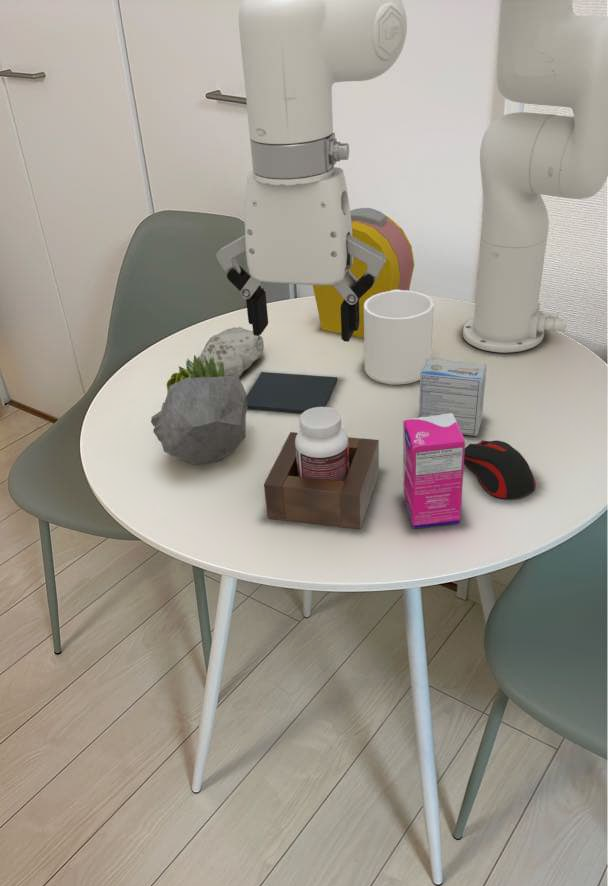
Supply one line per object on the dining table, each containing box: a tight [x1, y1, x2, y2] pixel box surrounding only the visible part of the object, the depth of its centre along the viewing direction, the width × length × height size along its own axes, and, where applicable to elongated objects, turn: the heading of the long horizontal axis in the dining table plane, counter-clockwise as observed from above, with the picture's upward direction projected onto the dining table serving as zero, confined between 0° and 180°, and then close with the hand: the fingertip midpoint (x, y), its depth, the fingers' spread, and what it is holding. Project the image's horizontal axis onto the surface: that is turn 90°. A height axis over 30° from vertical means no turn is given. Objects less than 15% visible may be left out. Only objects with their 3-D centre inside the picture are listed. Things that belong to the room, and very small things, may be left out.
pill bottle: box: [295, 406, 349, 482], centre depth 88 cm, size 6×6×11 cm
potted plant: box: [150, 354, 248, 466], centre depth 99 cm, size 12×13×15 cm
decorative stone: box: [198, 326, 265, 379], centre depth 117 cm, size 12×11×5 cm
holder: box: [263, 431, 380, 530], centre depth 90 cm, size 11×11×5 cm
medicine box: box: [418, 358, 488, 437], centre depth 99 cm, size 8×4×9 cm, turn 71°
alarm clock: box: [312, 207, 415, 339], centre depth 121 cm, size 15×8×18 cm, turn 59°
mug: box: [363, 289, 435, 386], centre depth 112 cm, size 13×10×10 cm
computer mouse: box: [464, 439, 537, 500], centre depth 91 cm, size 6×11×4 cm, turn 20°
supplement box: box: [402, 413, 466, 529], centre depth 84 cm, size 6×6×12 cm
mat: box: [246, 371, 338, 414], centre depth 111 cm, size 12×10×1 cm
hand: (304, 333), depth 80 cm, fingers open, 9 cm apart
